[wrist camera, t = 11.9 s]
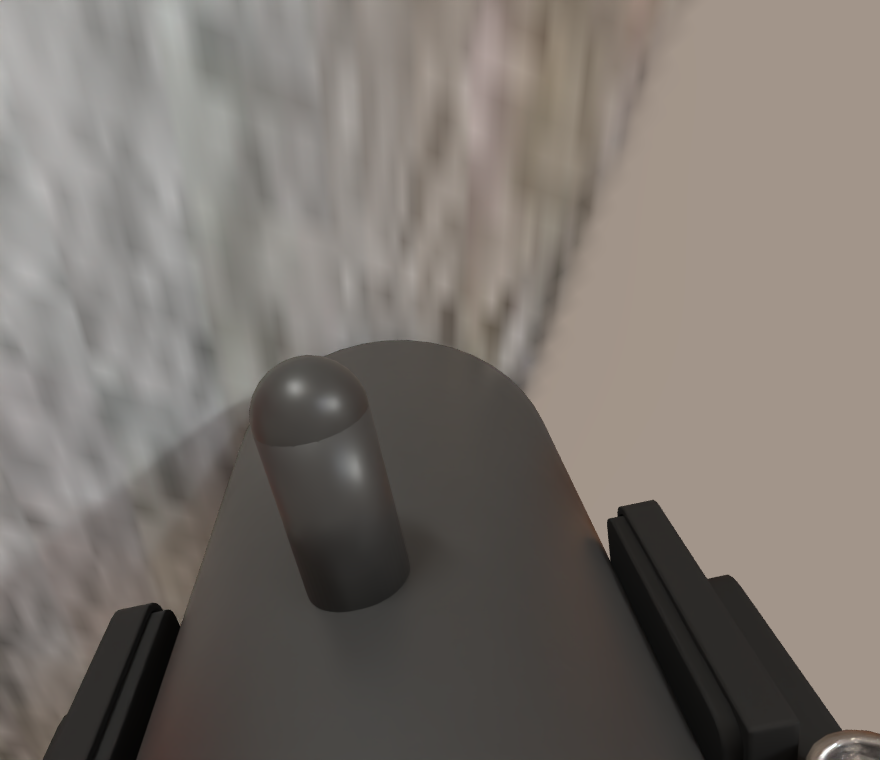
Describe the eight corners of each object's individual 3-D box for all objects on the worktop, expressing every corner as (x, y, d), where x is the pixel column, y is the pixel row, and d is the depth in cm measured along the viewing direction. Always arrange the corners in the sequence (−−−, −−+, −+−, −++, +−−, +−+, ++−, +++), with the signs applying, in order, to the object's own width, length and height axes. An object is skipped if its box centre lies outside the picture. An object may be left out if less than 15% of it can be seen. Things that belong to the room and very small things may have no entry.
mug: (568, 575, 16) (774, 1112, 8) (286, 633, 16) (199, 1234, 8) (516, 177, 12) (819, 416, 4) (144, 252, 12) (-324, 651, 4)
